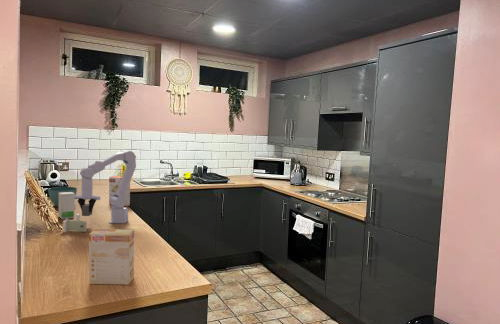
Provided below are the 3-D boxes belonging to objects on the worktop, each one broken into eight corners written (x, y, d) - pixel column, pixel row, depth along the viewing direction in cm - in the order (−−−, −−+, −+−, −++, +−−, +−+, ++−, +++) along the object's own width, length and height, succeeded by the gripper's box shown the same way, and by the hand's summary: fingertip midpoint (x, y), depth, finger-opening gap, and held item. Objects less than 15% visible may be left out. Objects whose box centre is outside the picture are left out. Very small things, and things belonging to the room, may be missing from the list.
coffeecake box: (134, 277, 146) (134, 229, 144) (129, 285, 139) (129, 234, 137) (95, 276, 145) (95, 228, 143) (88, 284, 138) (88, 233, 136)
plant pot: (49, 203, 266) (49, 186, 265) (77, 202, 274) (76, 186, 273) (47, 209, 250) (47, 191, 249) (77, 207, 258) (76, 190, 256)
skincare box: (60, 219, 226) (60, 194, 225) (58, 217, 231) (57, 192, 230) (75, 217, 231) (75, 193, 230) (72, 215, 236) (72, 191, 235)
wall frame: (80, 223, 218) (80, 213, 217) (65, 232, 200) (65, 220, 200) (77, 223, 218) (77, 212, 217) (62, 232, 200) (62, 220, 200)
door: (84, 232, 200) (84, 222, 200) (67, 230, 202) (67, 220, 201) (86, 231, 202) (86, 221, 202) (69, 229, 204) (69, 220, 203)
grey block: (92, 214, 216) (92, 203, 215) (88, 216, 211) (88, 205, 210) (85, 213, 216) (85, 203, 215) (81, 215, 211) (81, 205, 210)
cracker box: (108, 205, 269) (108, 176, 267) (113, 203, 275) (114, 175, 273) (125, 207, 265) (125, 178, 263) (130, 205, 271) (130, 177, 269)
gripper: (71, 189, 208) (71, 212, 209) (96, 190, 208) (96, 213, 209) (77, 187, 215) (77, 210, 216) (101, 188, 215) (101, 211, 216)
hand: (87, 211), depth 213 cm, fingers closed on grey block, 4 cm apart
